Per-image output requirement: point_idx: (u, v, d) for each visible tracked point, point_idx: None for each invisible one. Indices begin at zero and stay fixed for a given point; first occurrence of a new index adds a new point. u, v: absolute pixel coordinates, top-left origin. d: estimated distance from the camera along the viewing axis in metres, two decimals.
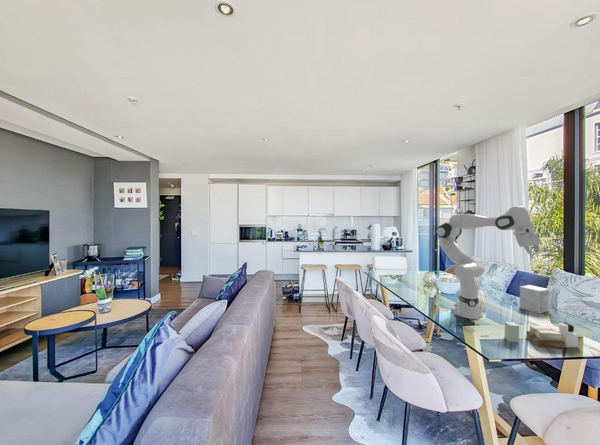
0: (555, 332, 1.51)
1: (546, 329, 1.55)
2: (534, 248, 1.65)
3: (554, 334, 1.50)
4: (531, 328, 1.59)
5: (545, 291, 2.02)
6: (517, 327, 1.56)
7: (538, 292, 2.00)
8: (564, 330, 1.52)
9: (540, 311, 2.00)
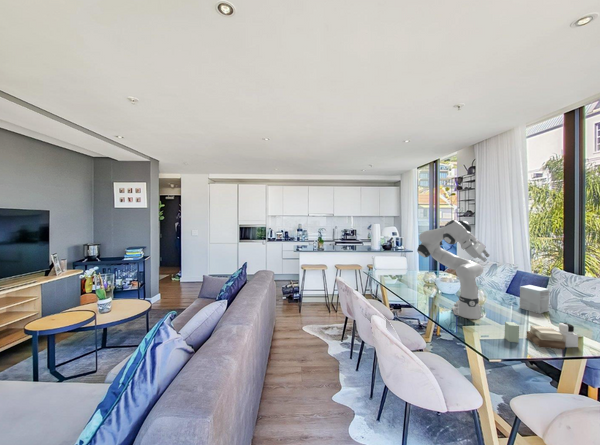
0: (556, 332, 1.51)
1: (547, 329, 1.55)
2: None
3: (555, 334, 1.50)
4: (532, 328, 1.59)
5: (545, 291, 2.02)
6: (517, 327, 1.56)
7: (538, 292, 2.00)
8: (564, 330, 1.52)
9: (540, 311, 2.00)
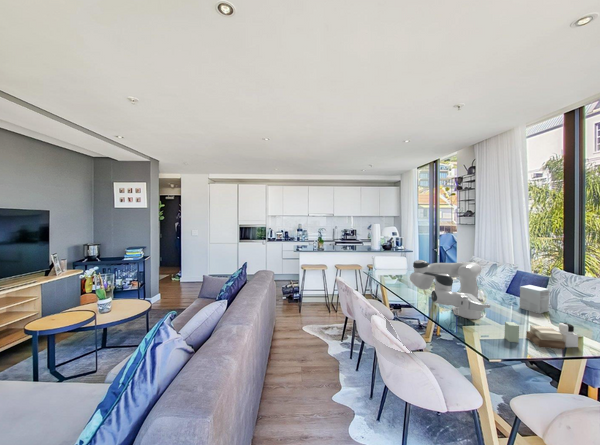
0: (556, 332, 1.51)
1: (547, 329, 1.55)
2: None
3: (554, 334, 1.50)
4: (532, 328, 1.59)
5: (545, 291, 2.02)
6: (517, 327, 1.56)
7: (538, 292, 2.00)
8: (564, 330, 1.52)
9: (540, 311, 2.00)
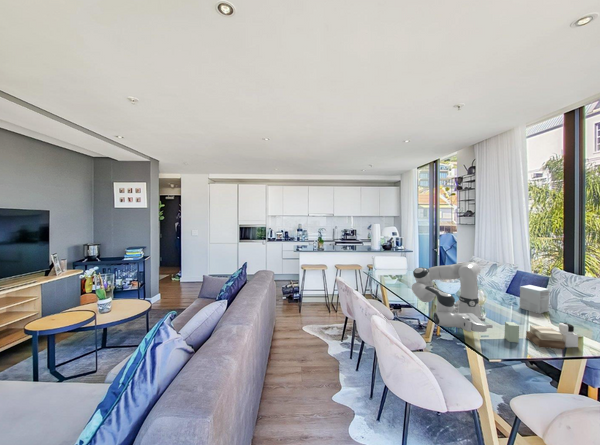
0: (556, 332, 1.51)
1: (547, 329, 1.55)
2: (479, 320, 1.67)
3: (555, 334, 1.50)
4: (532, 328, 1.59)
5: (545, 291, 2.02)
6: (517, 327, 1.56)
7: (538, 292, 2.00)
8: (564, 330, 1.52)
9: (540, 311, 2.00)
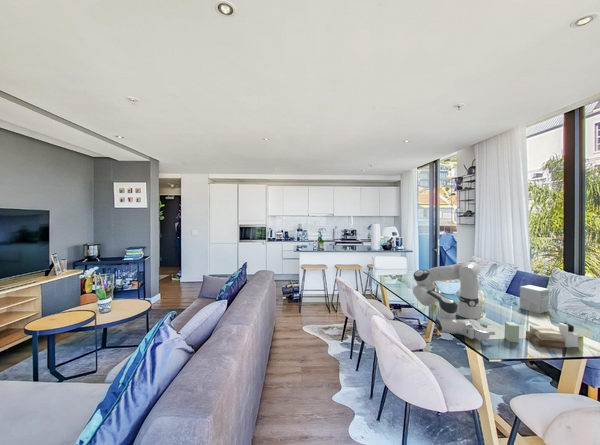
0: (555, 332, 1.51)
1: (546, 329, 1.55)
2: (481, 326, 1.67)
3: (554, 334, 1.50)
4: (531, 328, 1.59)
5: (545, 291, 2.02)
6: (517, 327, 1.56)
7: (538, 292, 2.00)
8: (564, 330, 1.52)
9: (540, 311, 2.00)
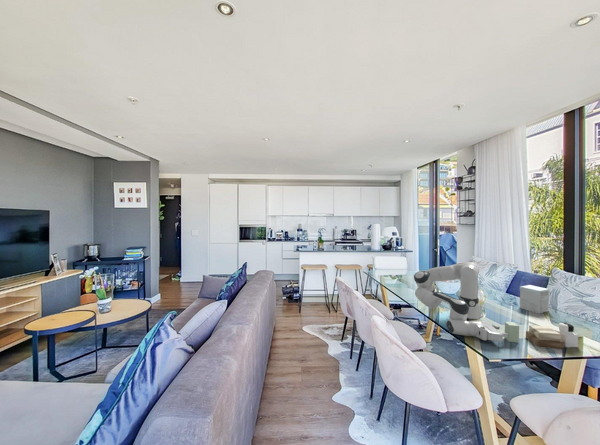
0: (554, 332, 1.51)
1: (546, 329, 1.55)
2: (493, 328, 1.65)
3: (553, 334, 1.50)
4: (530, 328, 1.60)
5: (545, 291, 2.02)
6: (517, 327, 1.56)
7: (538, 292, 2.00)
8: (564, 330, 1.52)
9: (540, 311, 2.00)
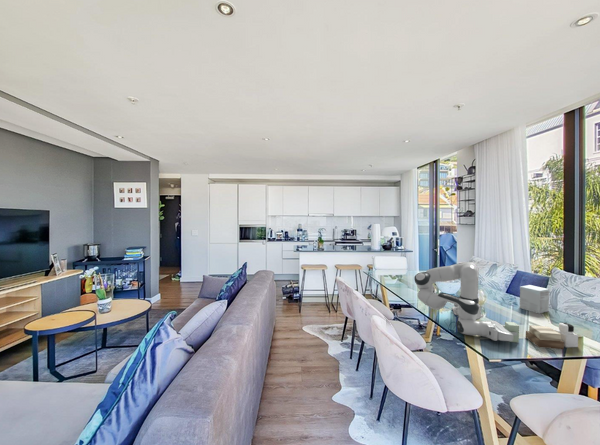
0: (555, 332, 1.51)
1: (546, 329, 1.55)
2: None
3: (553, 334, 1.50)
4: (531, 328, 1.59)
5: (545, 291, 2.02)
6: (517, 327, 1.56)
7: (538, 292, 2.00)
8: (564, 330, 1.52)
9: (540, 311, 2.00)
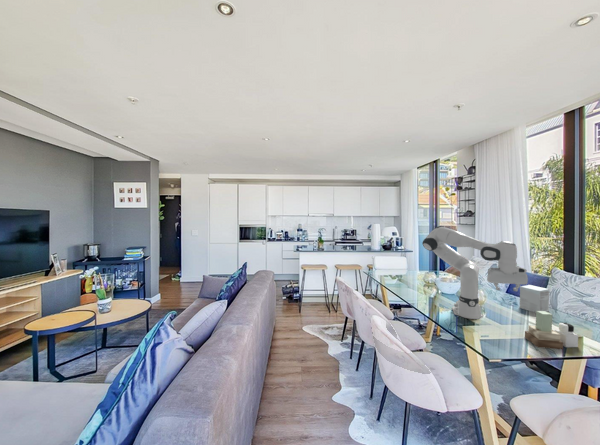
0: (554, 332, 1.51)
1: None
2: (497, 286, 1.61)
3: (552, 334, 1.50)
4: (530, 328, 1.59)
5: (545, 291, 2.02)
6: (550, 316, 1.52)
7: (538, 292, 2.00)
8: (564, 330, 1.52)
9: None
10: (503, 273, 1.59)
